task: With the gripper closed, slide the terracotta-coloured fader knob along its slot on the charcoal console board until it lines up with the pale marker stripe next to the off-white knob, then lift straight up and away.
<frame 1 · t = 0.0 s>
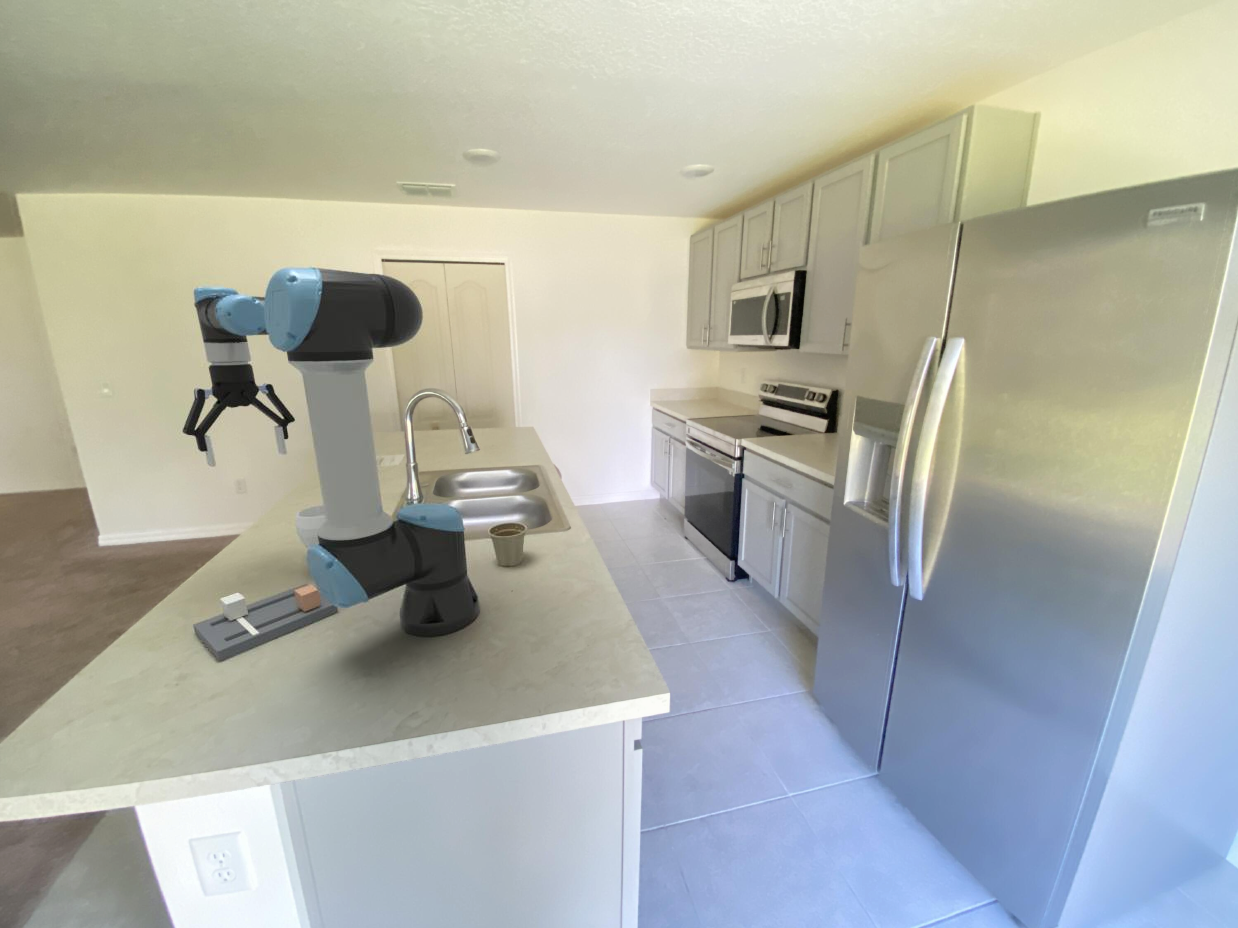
hand: (249, 459, 113), 28 cm above the worktop, fingers open, 13 cm apart
flower pot: (509, 561, 125), on the worktop
cup: (329, 569, 122), on the worktop
fader front: (307, 597, 100), point 4 cm above the worktop, slide at -6.0 cm
console: (269, 622, 99), on the worktop
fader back: (234, 606, 97), point 4 cm above the worktop, slide at 4.0 cm
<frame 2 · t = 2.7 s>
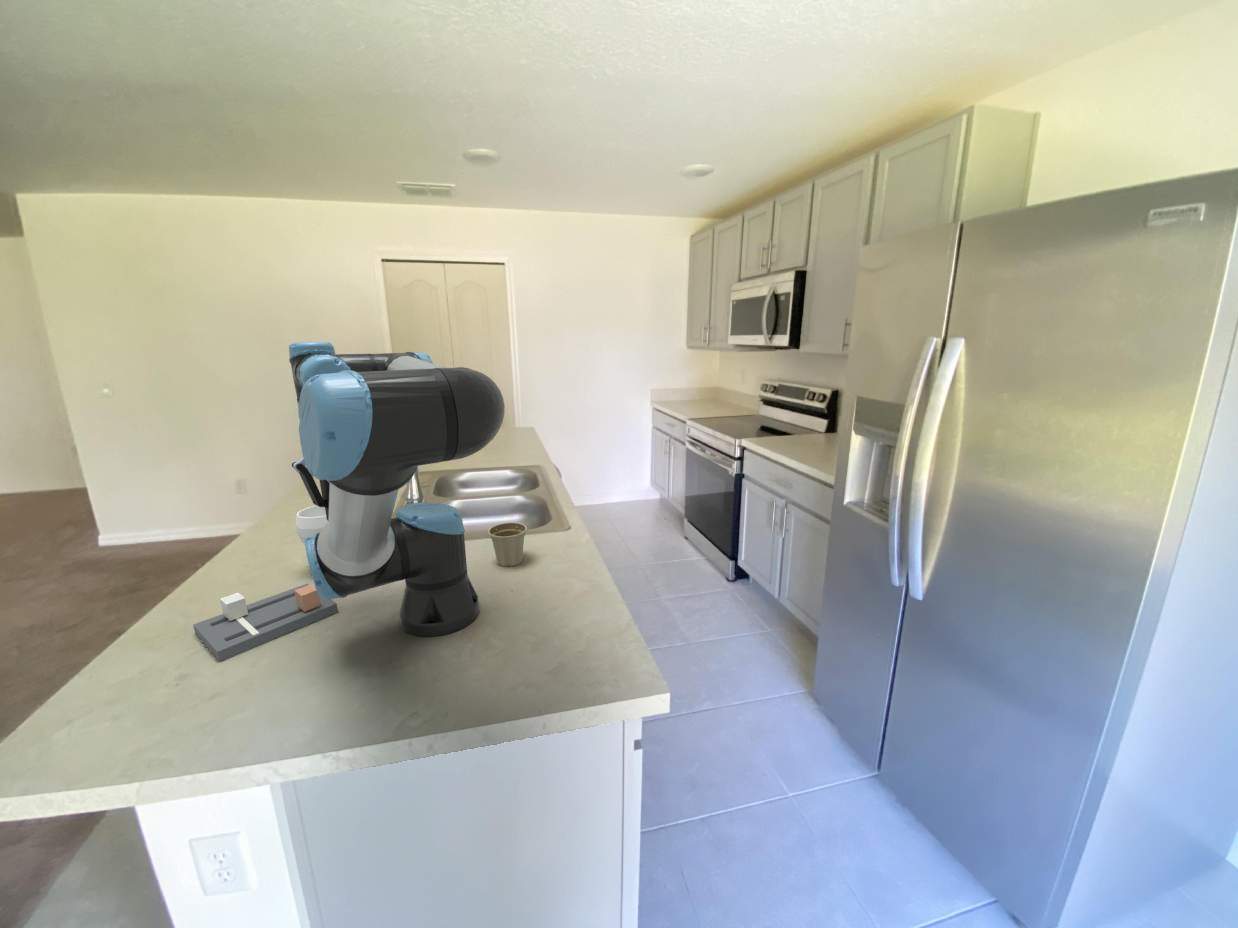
hand: (340, 534, 104), 15 cm above the worktop, fingers closed
nothing on the worktop moved.
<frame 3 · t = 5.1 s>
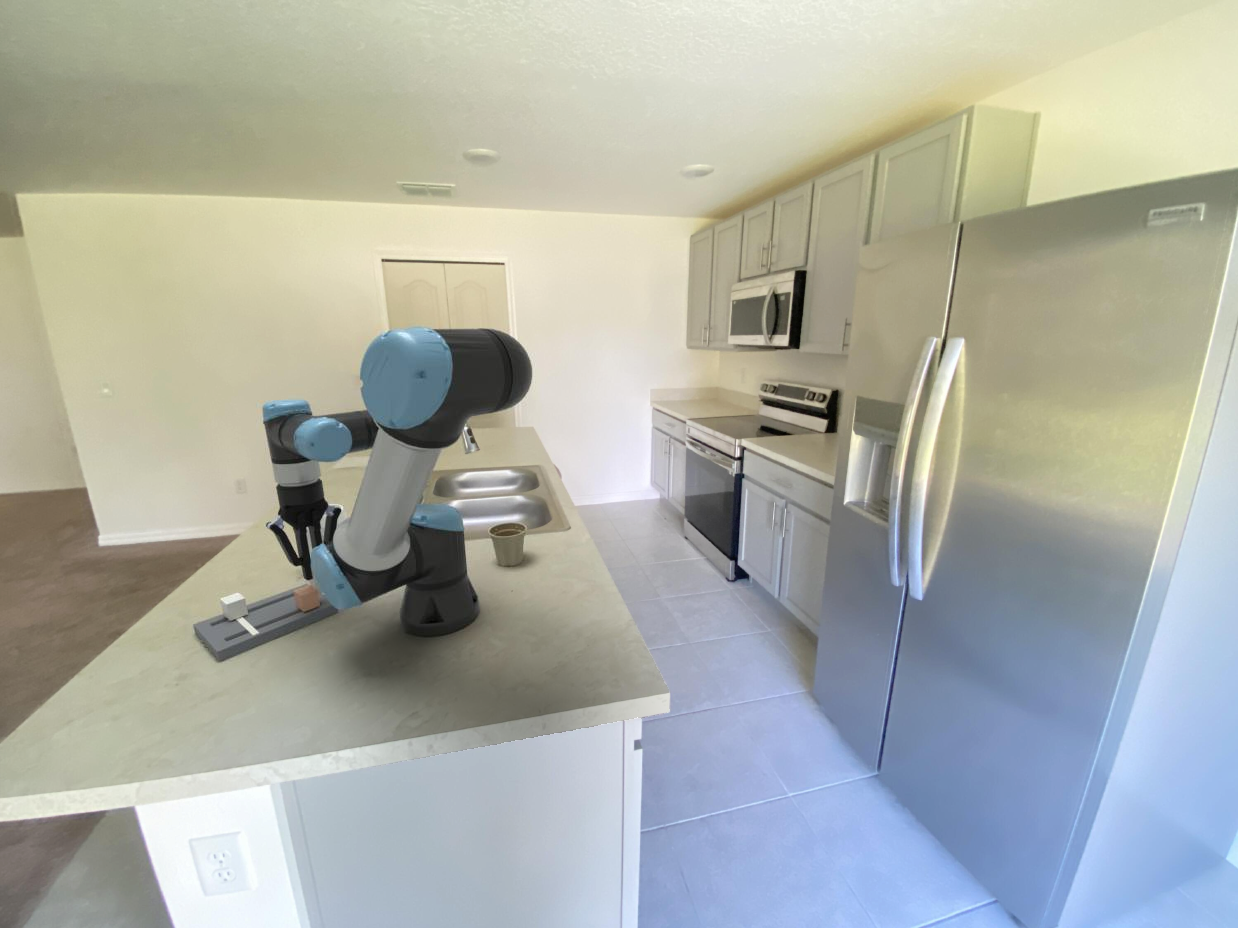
hand: (317, 591, 102), 5 cm above the worktop, fingers closed
fader front: (306, 598, 100), point 4 cm above the worktop, slide at -5.8 cm, touching gripper
everything else where it was.
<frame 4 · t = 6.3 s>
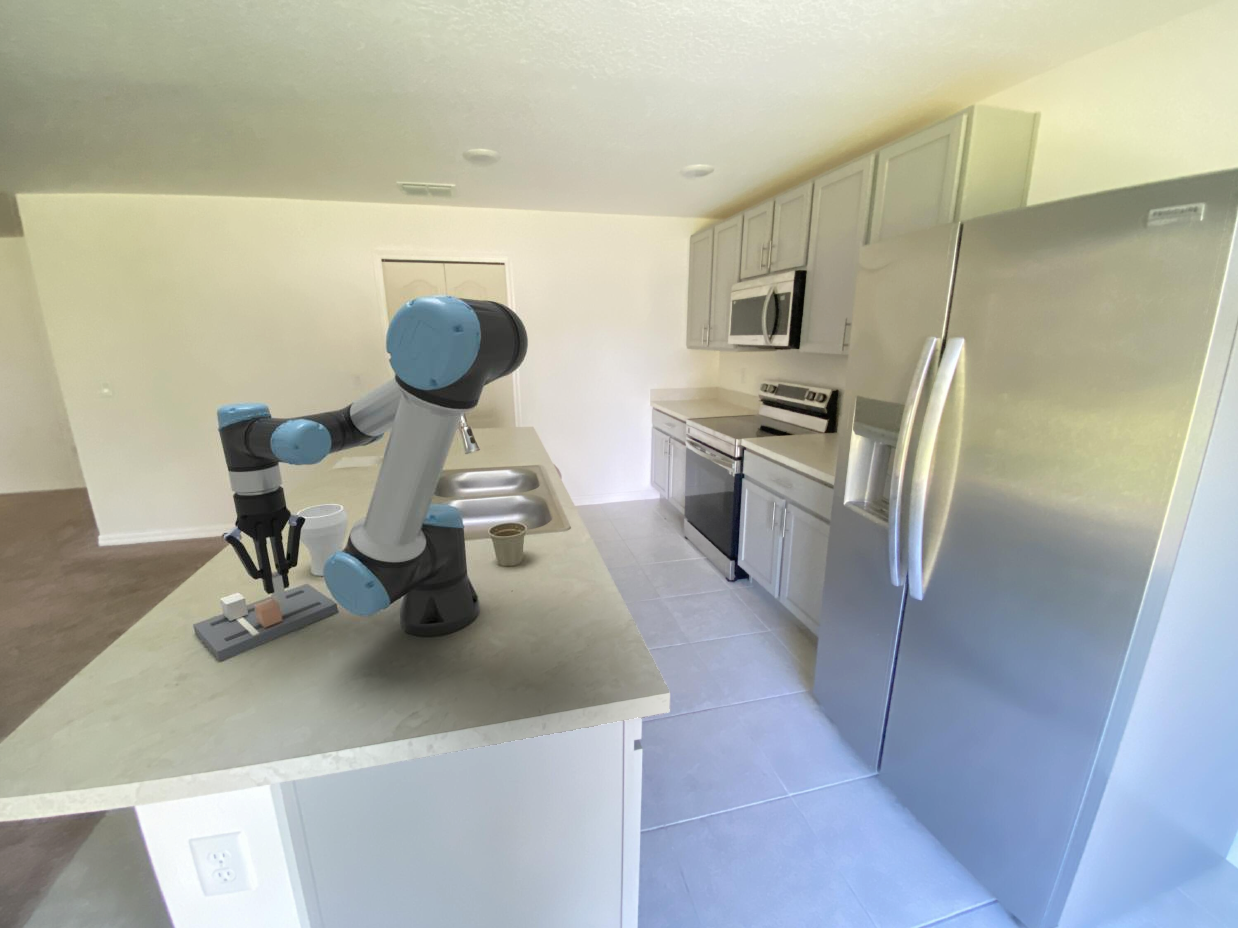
hand: (280, 604, 97), 5 cm above the worktop, fingers closed
fader front: (268, 612, 95), point 4 cm above the worktop, slide at 0.9 cm, touching gripper
everything else where it was.
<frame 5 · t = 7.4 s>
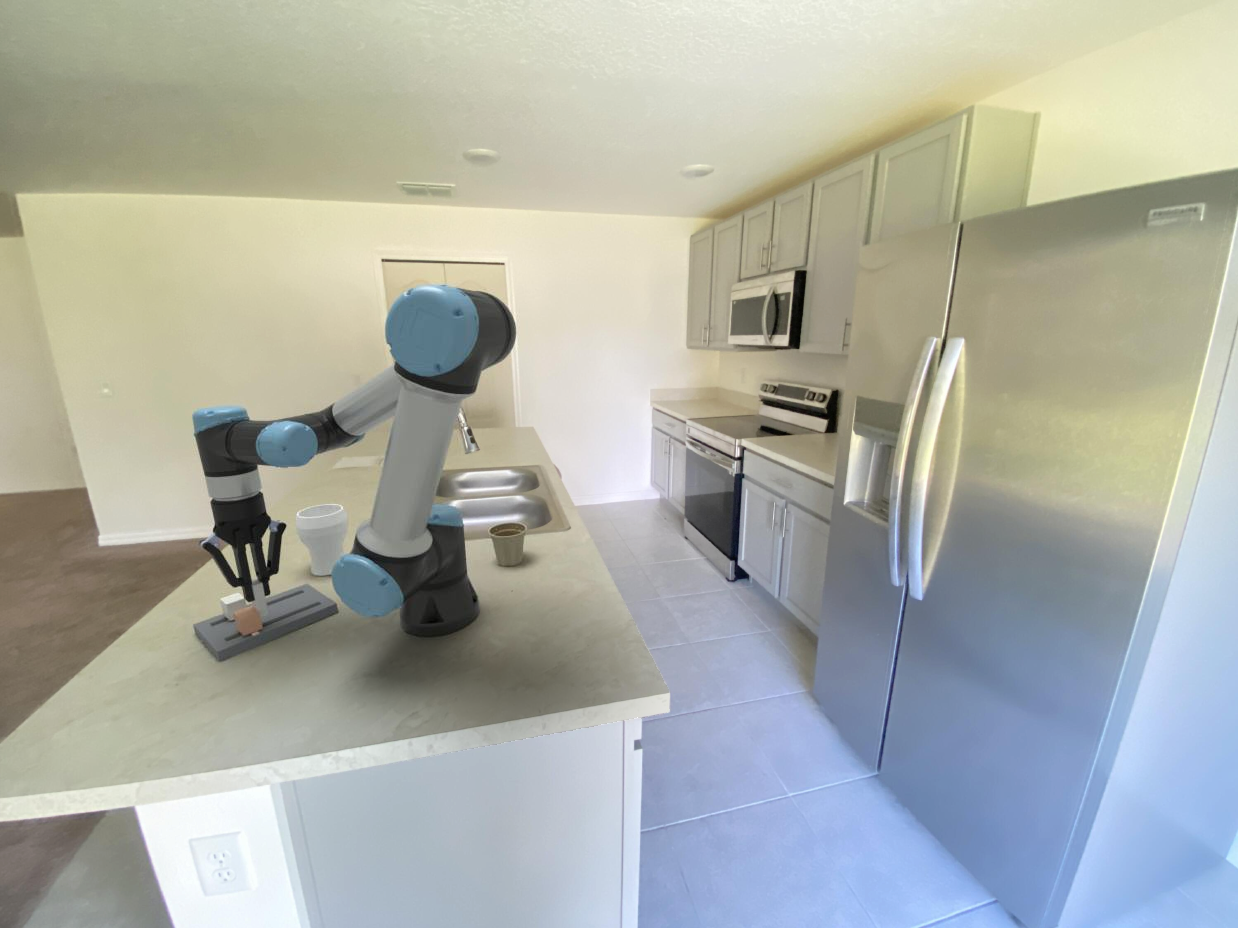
hand: (261, 613, 94), 4 cm above the worktop, fingers closed
fader front: (247, 620, 92), point 4 cm above the worktop, slide at 4.2 cm, touching gripper
everything else where it was.
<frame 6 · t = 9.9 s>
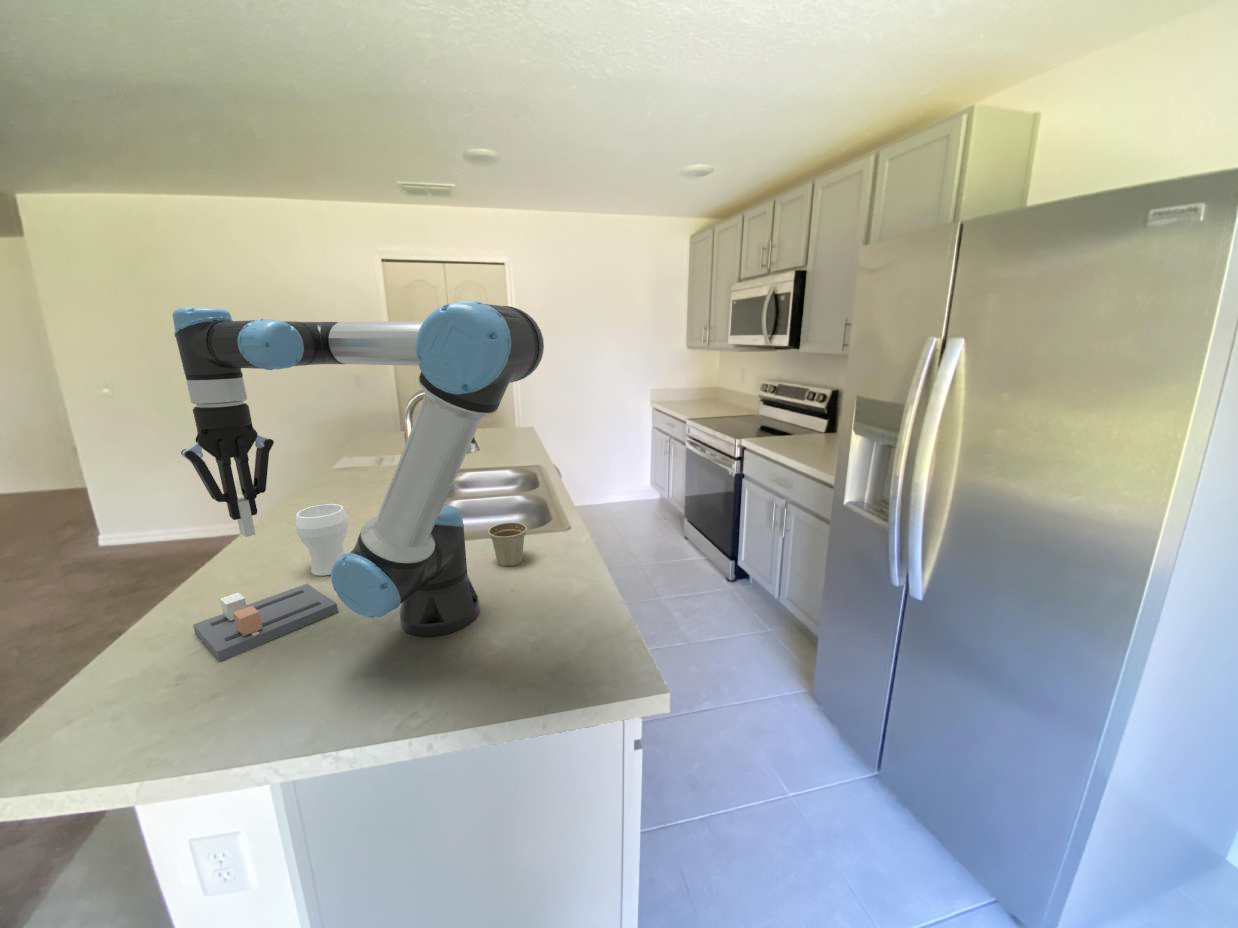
hand: (247, 533, 90), 20 cm above the worktop, fingers closed
fader front: (247, 620, 92), point 4 cm above the worktop, slide at 4.2 cm
everything else where it was.
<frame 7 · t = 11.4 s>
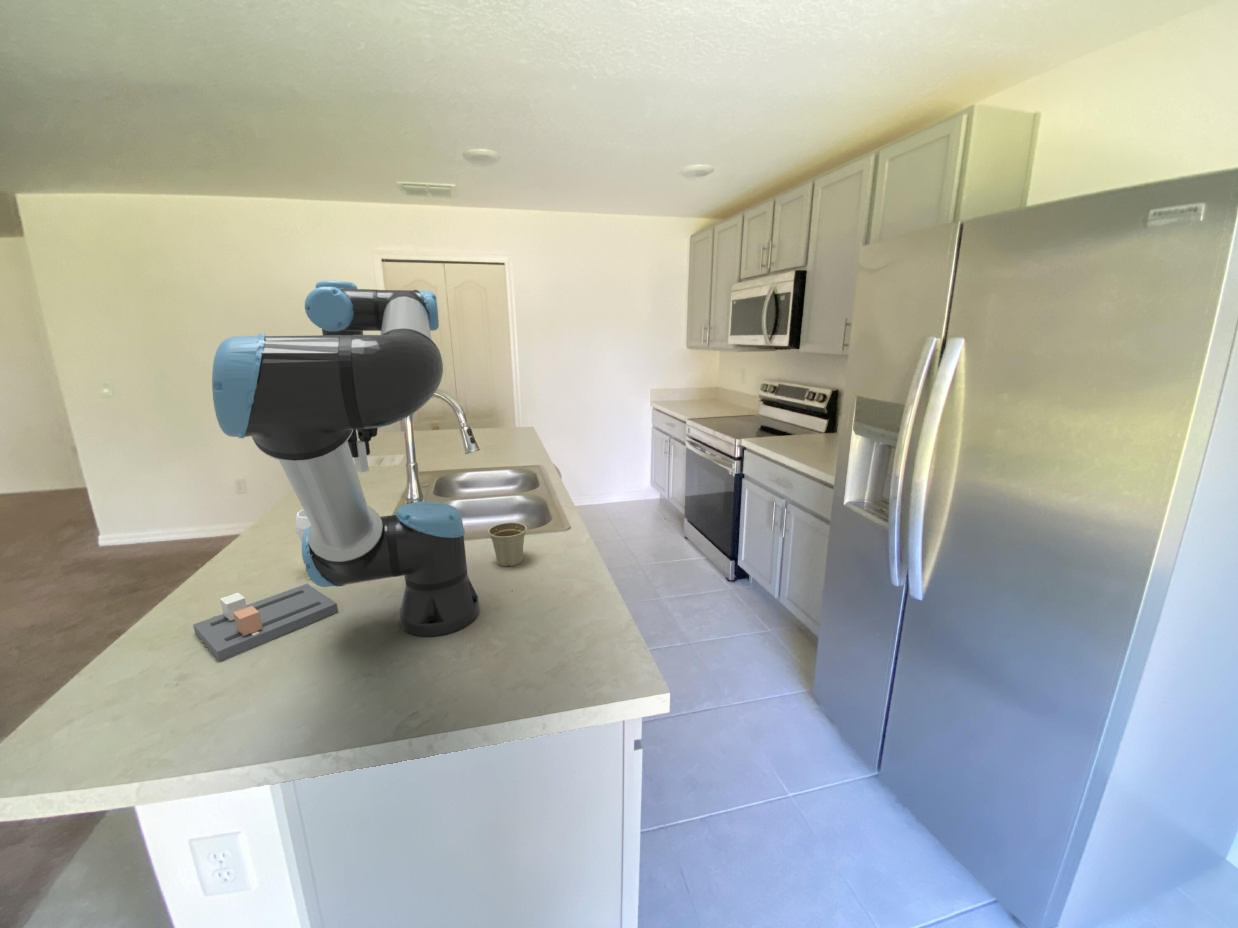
hand: (362, 470, 109), 26 cm above the worktop, fingers closed
nothing on the worktop moved.
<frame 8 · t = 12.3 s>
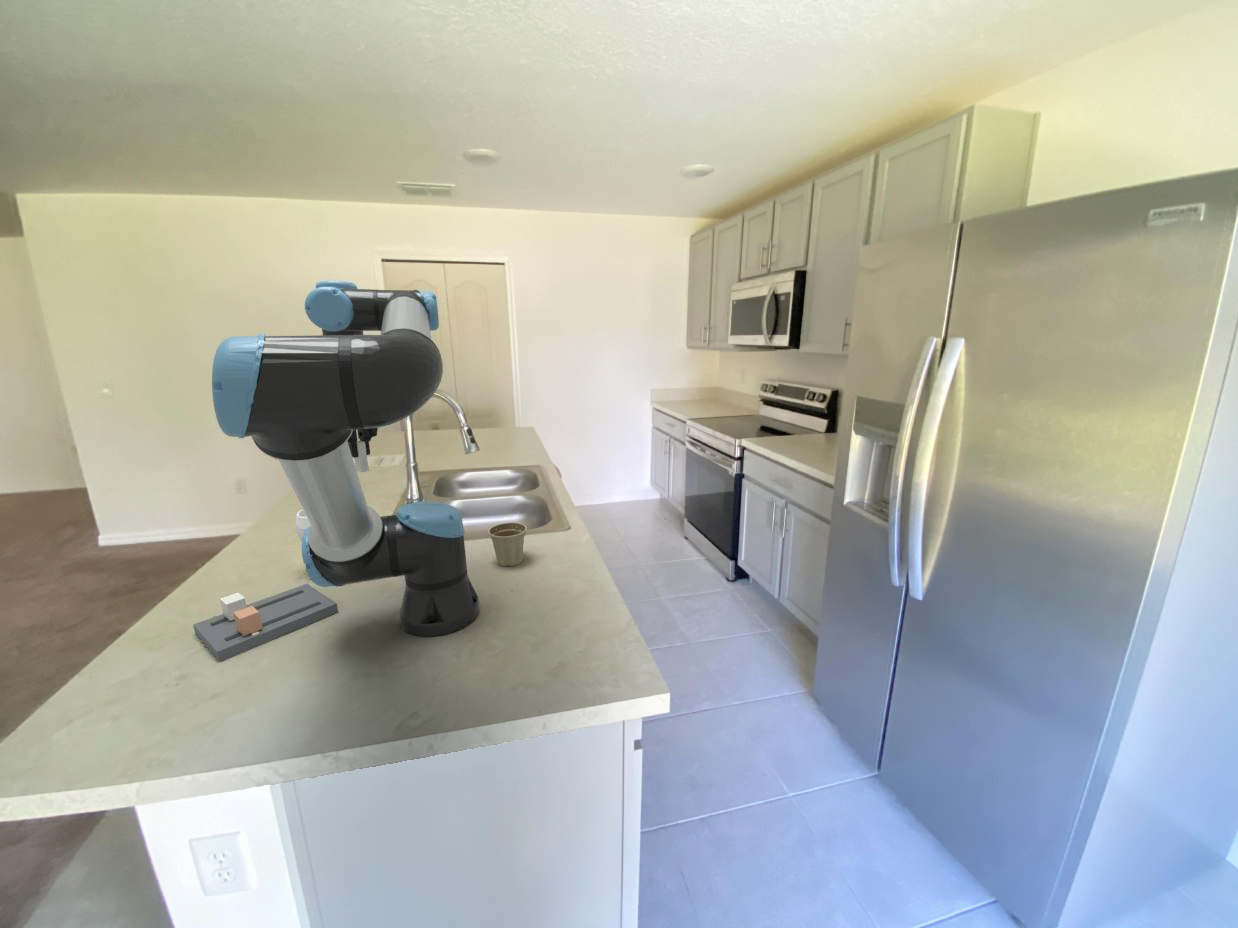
hand: (362, 470, 109), 26 cm above the worktop, fingers closed
nothing on the worktop moved.
at the end: fader front slide at 4.2 cm; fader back slide at 4.0 cm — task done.
